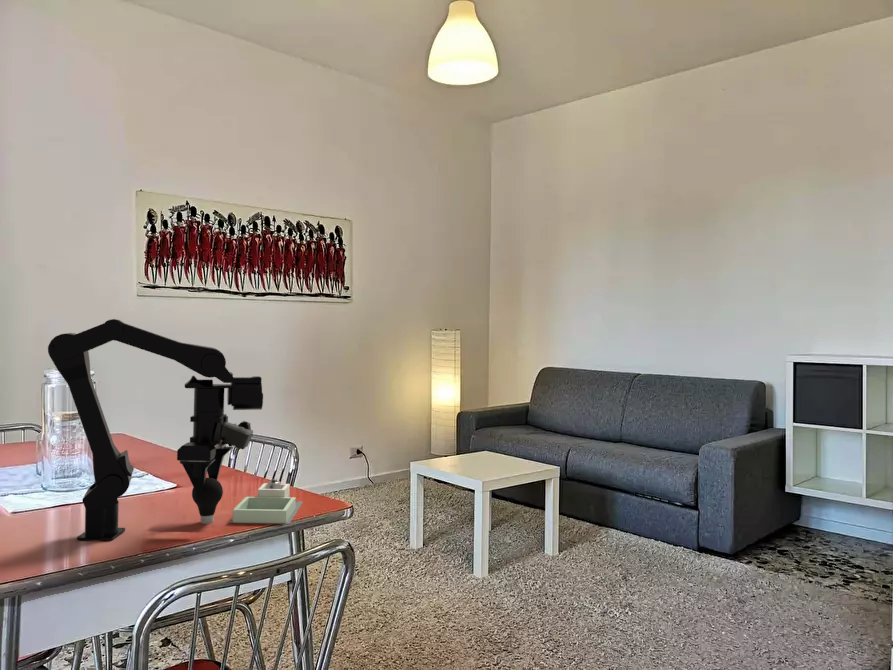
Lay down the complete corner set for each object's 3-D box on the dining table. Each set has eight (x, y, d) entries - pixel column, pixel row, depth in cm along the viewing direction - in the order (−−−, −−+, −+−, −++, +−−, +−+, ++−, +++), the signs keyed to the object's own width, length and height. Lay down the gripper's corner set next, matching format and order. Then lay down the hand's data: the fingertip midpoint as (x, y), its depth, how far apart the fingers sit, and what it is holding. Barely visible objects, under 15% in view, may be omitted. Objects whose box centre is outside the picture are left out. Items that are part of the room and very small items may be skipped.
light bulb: (212, 533, 135) (213, 482, 135) (185, 530, 136) (186, 480, 136) (227, 524, 141) (228, 475, 140) (201, 522, 142) (202, 473, 142)
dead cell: (278, 506, 151) (279, 480, 151) (265, 506, 151) (266, 480, 151) (281, 503, 154) (281, 478, 154) (268, 502, 154) (269, 477, 153)
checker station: (289, 529, 138) (289, 503, 138) (228, 528, 138) (229, 502, 138) (303, 506, 155) (303, 483, 155) (249, 506, 155) (249, 483, 155)
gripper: (237, 417, 129) (235, 500, 129) (260, 405, 148) (258, 478, 148) (177, 416, 128) (175, 499, 129) (207, 404, 147) (205, 477, 147)
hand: (206, 488), depth 138 cm, fingers open, 9 cm apart
